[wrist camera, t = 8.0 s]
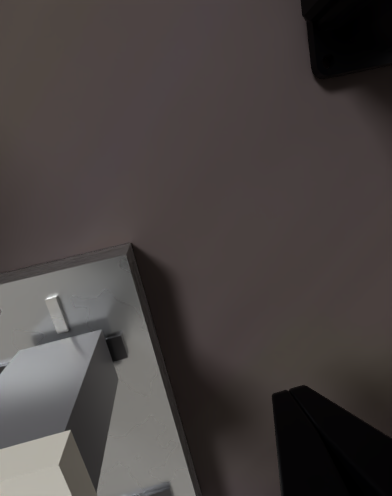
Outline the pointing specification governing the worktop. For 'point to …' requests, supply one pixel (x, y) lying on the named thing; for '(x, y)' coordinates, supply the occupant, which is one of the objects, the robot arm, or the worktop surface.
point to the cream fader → (56, 417)
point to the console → (123, 356)
